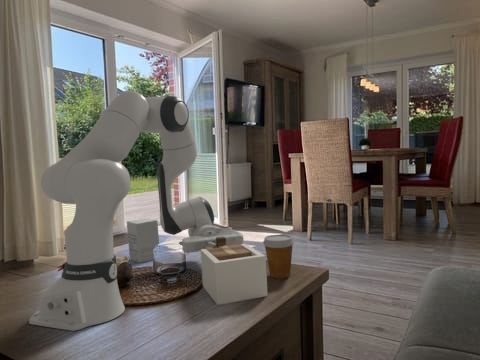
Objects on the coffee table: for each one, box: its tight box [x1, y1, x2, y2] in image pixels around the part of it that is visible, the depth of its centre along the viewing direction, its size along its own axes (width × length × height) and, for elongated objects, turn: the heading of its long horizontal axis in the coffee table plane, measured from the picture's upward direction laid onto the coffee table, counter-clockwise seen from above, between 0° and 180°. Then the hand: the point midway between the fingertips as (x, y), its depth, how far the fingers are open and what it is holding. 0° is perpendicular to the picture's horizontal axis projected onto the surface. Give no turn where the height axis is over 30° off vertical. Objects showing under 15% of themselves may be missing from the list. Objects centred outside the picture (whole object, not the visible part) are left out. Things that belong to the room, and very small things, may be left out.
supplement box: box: [126, 217, 160, 264], centre depth 148 cm, size 9×9×15 cm
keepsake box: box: [200, 243, 268, 306], centre depth 108 cm, size 16×14×11 cm
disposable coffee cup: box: [262, 234, 295, 279], centre depth 120 cm, size 10×10×12 cm
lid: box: [204, 237, 251, 261], centre depth 113 cm, size 14×10×4 cm
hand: (219, 247), depth 119 cm, fingers closed, pressing on lid
